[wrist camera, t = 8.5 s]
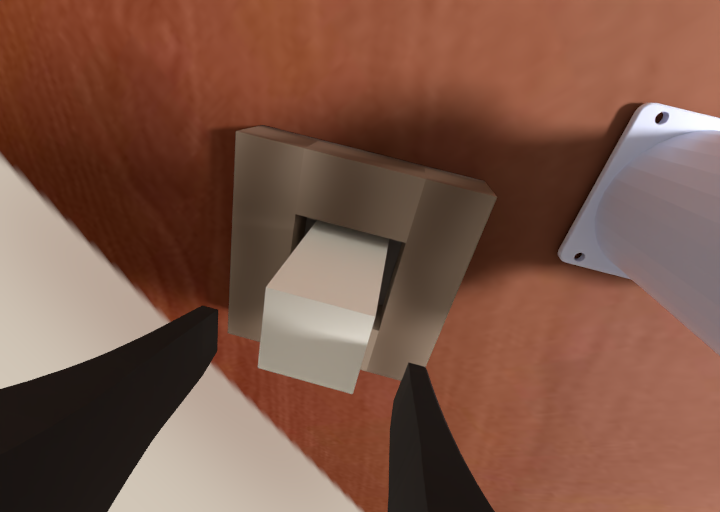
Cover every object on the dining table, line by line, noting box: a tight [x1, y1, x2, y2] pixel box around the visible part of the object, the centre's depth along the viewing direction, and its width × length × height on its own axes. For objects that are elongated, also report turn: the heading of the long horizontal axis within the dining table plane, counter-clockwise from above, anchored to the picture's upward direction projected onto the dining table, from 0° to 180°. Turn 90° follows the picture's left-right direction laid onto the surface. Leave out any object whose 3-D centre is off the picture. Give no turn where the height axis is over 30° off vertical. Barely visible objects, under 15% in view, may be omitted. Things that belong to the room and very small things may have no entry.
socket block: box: [228, 125, 497, 381], centre depth 19 cm, size 12×12×3 cm
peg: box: [258, 220, 389, 394], centre depth 16 cm, size 4×4×8 cm
